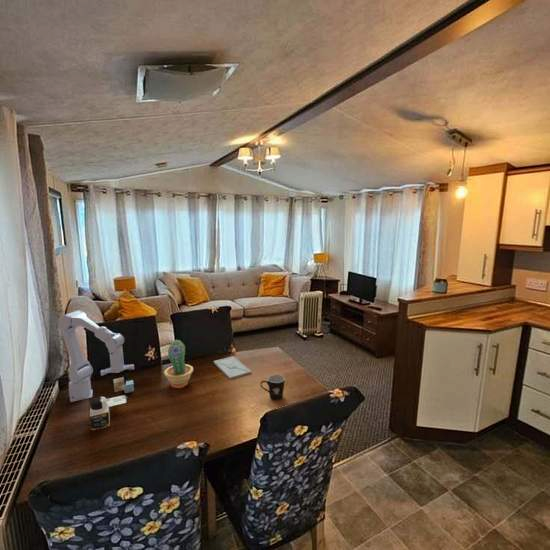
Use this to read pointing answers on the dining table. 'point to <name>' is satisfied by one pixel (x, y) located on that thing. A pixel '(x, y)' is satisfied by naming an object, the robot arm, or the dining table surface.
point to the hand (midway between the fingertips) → (119, 385)
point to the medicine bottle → (99, 413)
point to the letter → (116, 400)
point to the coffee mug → (275, 386)
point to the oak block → (119, 384)
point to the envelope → (232, 367)
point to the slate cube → (129, 386)
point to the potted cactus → (178, 365)
